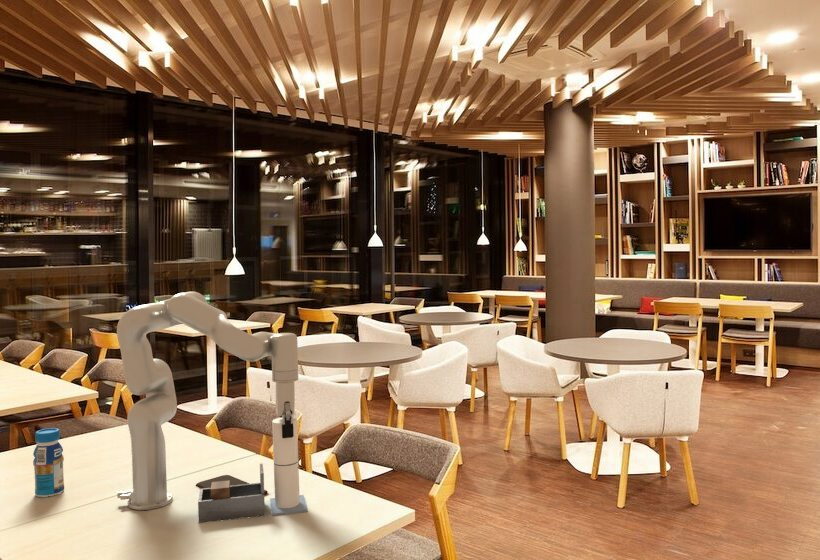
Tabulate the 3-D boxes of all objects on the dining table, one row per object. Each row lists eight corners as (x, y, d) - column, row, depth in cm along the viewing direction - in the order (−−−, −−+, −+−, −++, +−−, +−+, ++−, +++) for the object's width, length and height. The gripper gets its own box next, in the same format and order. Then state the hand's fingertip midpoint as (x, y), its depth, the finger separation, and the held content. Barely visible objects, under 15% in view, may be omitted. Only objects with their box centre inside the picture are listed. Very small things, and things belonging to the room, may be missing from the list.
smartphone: (227, 473, 221) (269, 490, 204) (227, 477, 221) (269, 495, 204) (193, 483, 212) (234, 501, 195) (193, 487, 212) (234, 506, 195)
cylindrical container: (270, 506, 192) (267, 422, 191) (283, 497, 198) (281, 416, 197) (291, 509, 189) (288, 424, 188) (304, 500, 196) (301, 418, 194)
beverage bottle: (30, 493, 207) (28, 431, 206) (59, 486, 213) (56, 425, 212) (39, 500, 201) (37, 435, 200) (69, 492, 207) (66, 430, 207)
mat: (272, 515, 186) (272, 513, 186) (270, 500, 198) (270, 498, 198) (307, 511, 189) (307, 509, 189) (303, 496, 201) (303, 494, 201)
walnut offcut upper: (211, 503, 185) (210, 489, 185) (212, 495, 191) (211, 482, 191) (229, 501, 186) (229, 487, 186) (230, 493, 192) (229, 480, 192)
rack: (198, 523, 182) (197, 480, 182) (200, 508, 192) (199, 468, 192) (264, 515, 187) (263, 474, 186) (263, 502, 197) (262, 462, 196)
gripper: (270, 371, 199) (272, 426, 200) (273, 381, 183) (275, 442, 183) (295, 369, 201) (296, 424, 202) (300, 380, 184) (302, 440, 185)
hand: (286, 433), depth 193 cm, fingers open, 9 cm apart
